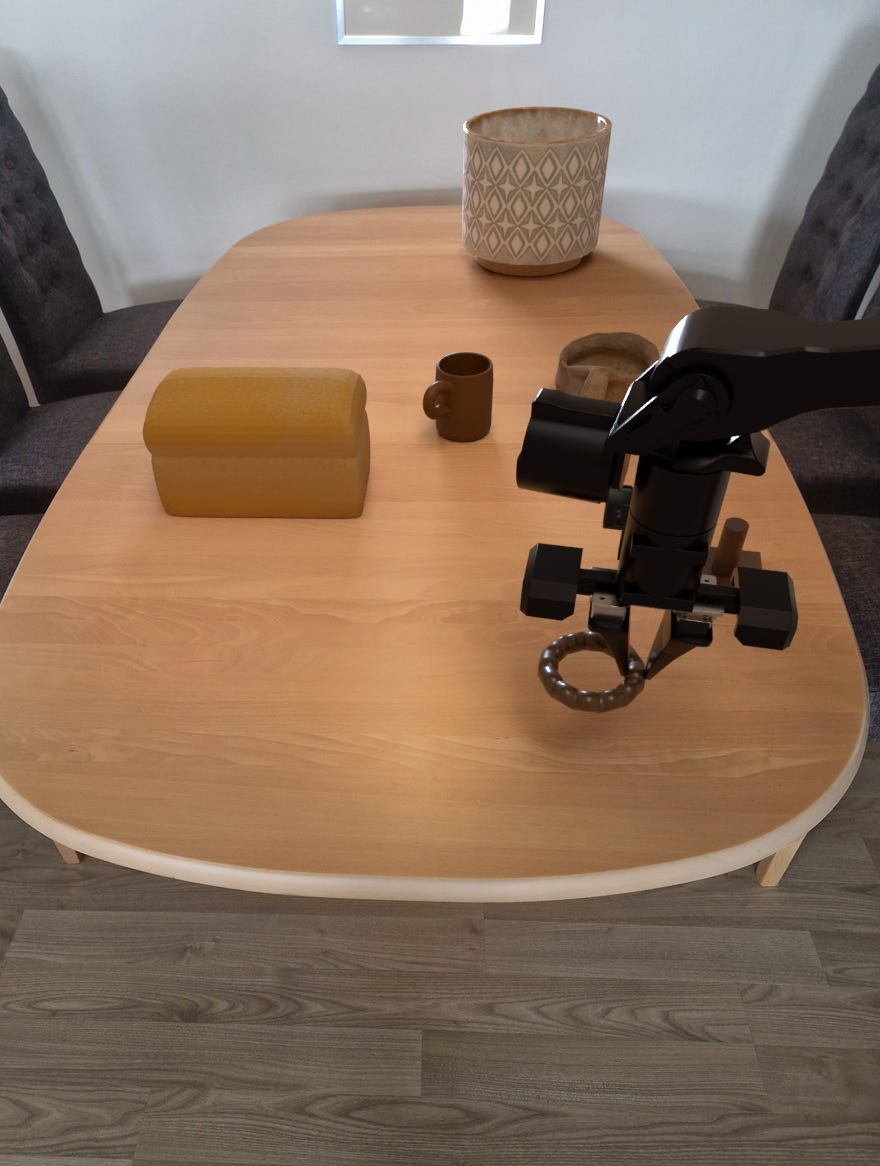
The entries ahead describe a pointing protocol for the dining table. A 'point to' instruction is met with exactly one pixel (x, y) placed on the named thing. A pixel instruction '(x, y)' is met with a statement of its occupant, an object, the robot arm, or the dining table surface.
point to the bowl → (604, 365)
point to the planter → (533, 188)
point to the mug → (461, 396)
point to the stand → (731, 552)
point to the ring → (581, 698)
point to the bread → (260, 442)
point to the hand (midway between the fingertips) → (635, 674)
